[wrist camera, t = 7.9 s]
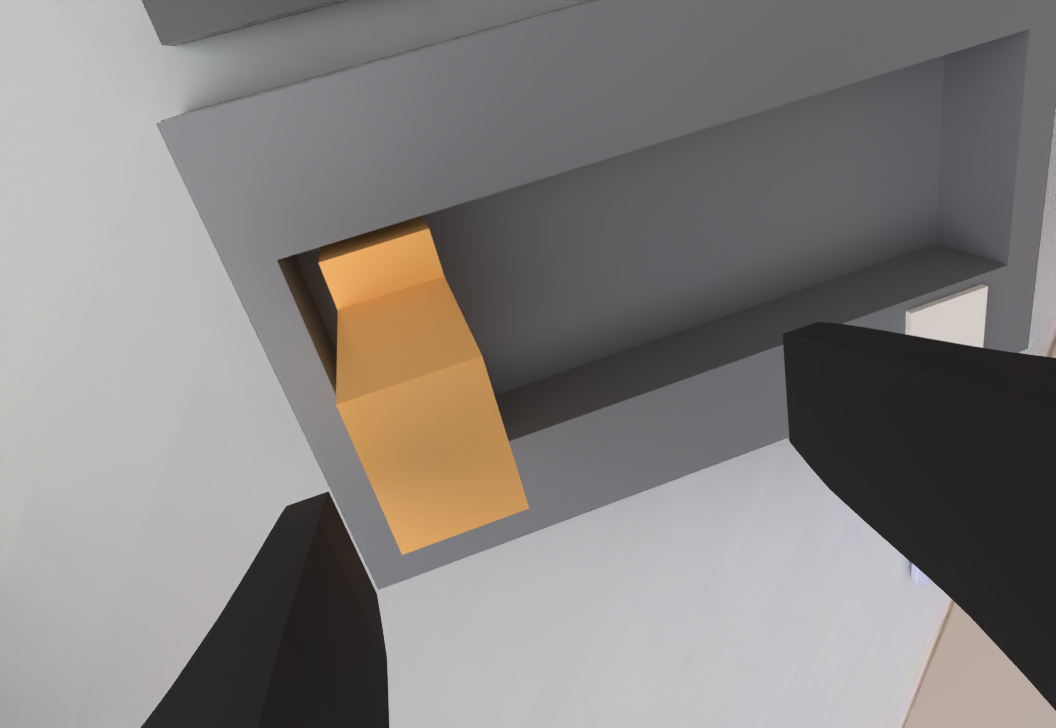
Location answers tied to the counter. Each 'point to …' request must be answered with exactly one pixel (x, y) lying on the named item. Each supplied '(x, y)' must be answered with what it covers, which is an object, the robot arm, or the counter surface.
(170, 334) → the counter surface
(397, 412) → the knob
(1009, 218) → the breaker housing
